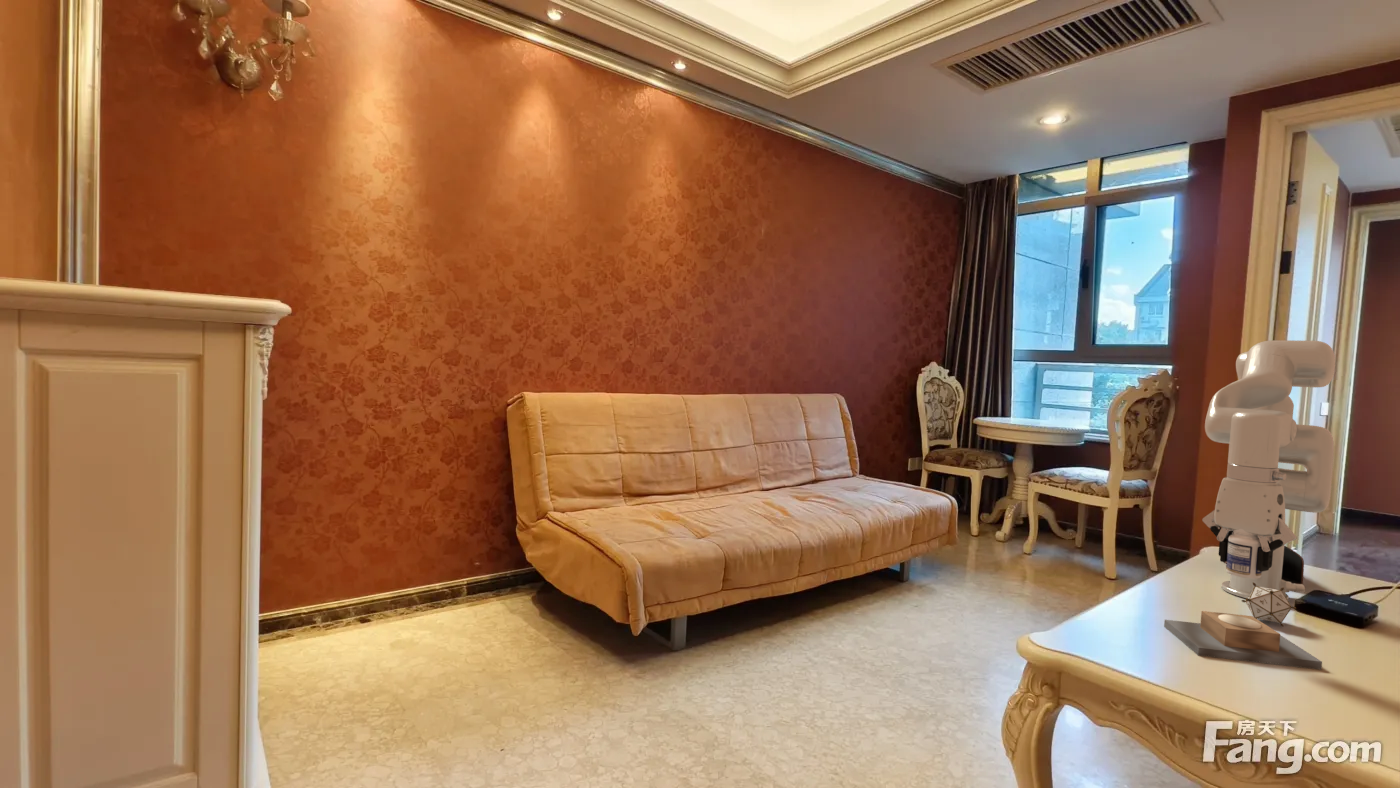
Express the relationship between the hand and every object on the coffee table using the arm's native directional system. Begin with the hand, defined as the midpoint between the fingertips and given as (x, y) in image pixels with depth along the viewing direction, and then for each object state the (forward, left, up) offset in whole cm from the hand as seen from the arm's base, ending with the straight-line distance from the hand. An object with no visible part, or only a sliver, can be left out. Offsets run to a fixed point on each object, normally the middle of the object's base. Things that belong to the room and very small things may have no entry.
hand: (1244, 564), depth 130 cm
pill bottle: (0, 0, -2) cm, 2 cm away
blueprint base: (0, 0, -17) cm, 17 cm away
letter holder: (-34, -57, -17) cm, 68 cm away
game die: (-14, -17, -17) cm, 28 cm away
